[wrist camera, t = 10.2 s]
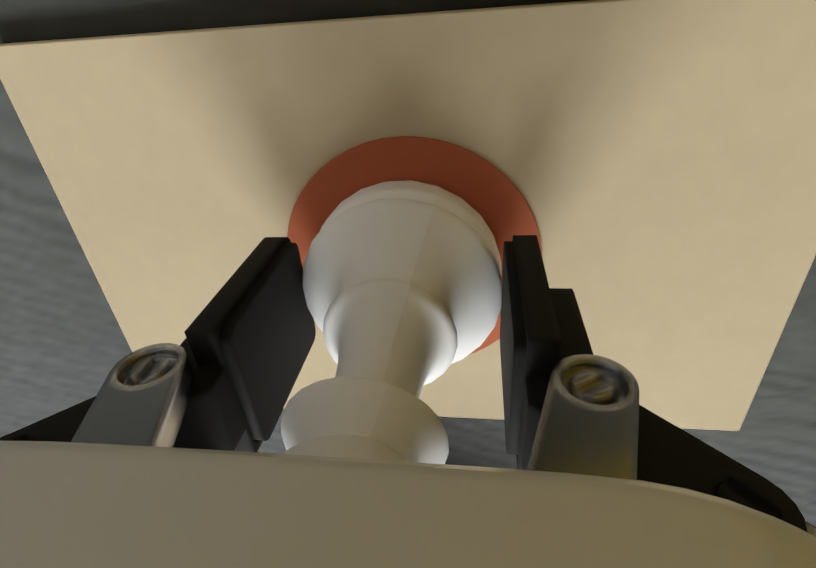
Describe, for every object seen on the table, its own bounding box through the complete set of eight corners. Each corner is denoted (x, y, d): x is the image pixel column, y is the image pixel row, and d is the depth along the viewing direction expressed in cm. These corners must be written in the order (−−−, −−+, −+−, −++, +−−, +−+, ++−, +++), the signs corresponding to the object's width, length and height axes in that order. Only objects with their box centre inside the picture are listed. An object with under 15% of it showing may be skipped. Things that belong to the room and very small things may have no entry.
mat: (0, 43, 12) (-21, 46, 11) (917, -25, 9) (944, -26, 8) (164, 393, 18) (154, 405, 18) (732, 419, 15) (741, 434, 15)
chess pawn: (461, 357, 14) (442, 763, 7) (303, 305, 14) (104, 670, 7) (533, 216, 12) (632, 628, 4) (341, 148, 11) (74, 463, 4)
